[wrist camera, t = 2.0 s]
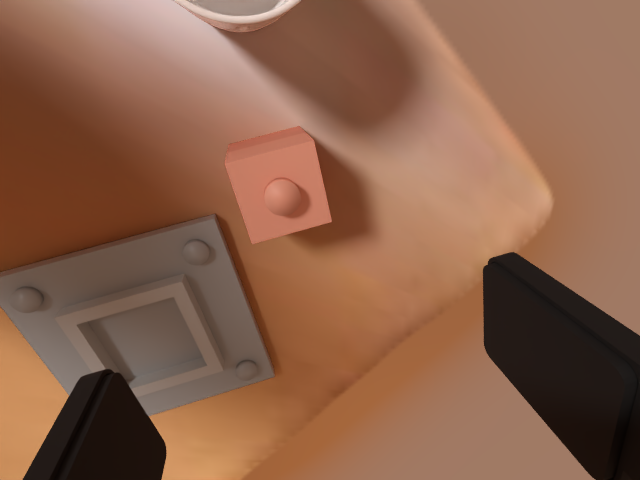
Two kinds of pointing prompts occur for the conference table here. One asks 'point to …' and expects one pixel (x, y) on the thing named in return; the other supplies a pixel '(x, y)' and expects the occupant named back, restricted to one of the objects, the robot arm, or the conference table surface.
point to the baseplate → (143, 315)
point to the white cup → (238, 12)
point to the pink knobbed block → (278, 183)
